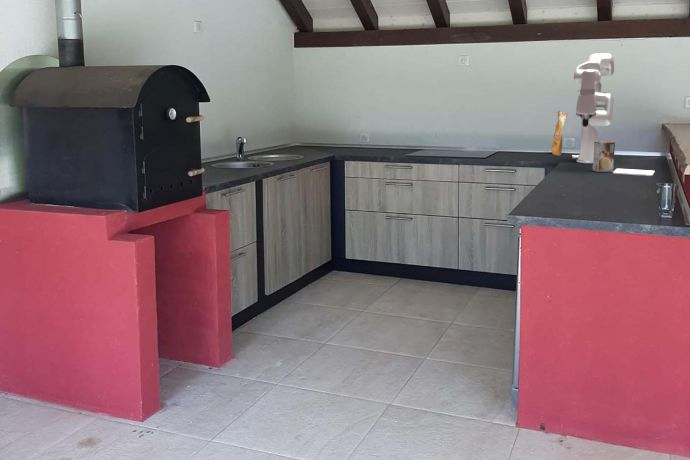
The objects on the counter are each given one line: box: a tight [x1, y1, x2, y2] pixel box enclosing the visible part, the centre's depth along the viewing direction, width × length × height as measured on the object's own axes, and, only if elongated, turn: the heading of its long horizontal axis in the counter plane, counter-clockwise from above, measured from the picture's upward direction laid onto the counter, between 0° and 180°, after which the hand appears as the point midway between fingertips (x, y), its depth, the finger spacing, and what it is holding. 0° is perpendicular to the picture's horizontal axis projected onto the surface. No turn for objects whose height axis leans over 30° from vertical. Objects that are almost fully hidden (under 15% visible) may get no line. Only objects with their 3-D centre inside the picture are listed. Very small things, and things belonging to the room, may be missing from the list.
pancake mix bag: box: [551, 110, 568, 156], centre depth 481 cm, size 7×19×28 cm, turn 173°
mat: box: [612, 168, 655, 177], centre depth 397 cm, size 20×16×1 cm
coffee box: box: [592, 141, 616, 173], centre depth 403 cm, size 9×6×16 cm
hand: (585, 126), depth 404 cm, fingers closed
